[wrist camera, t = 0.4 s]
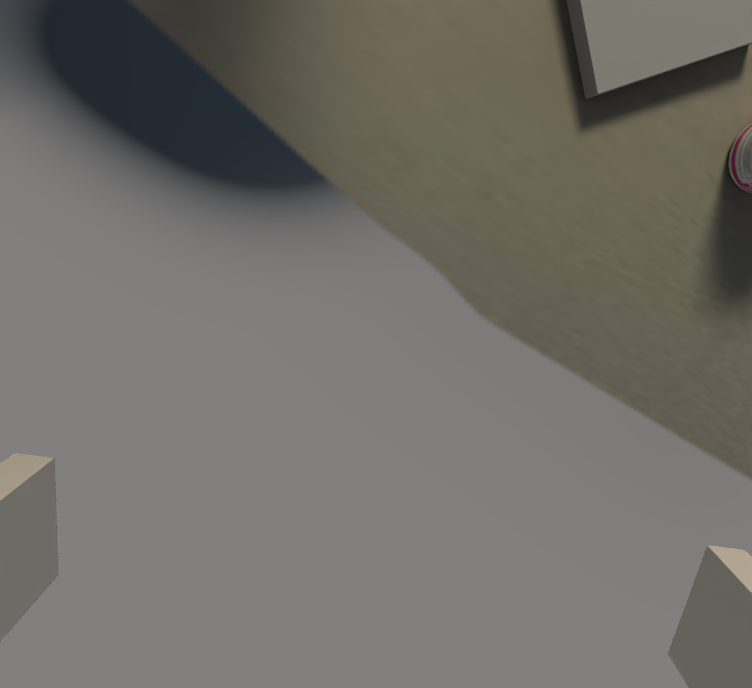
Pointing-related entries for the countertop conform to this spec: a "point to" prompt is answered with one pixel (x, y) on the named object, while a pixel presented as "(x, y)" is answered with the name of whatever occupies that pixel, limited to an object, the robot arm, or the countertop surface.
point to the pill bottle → (742, 159)
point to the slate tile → (652, 37)
